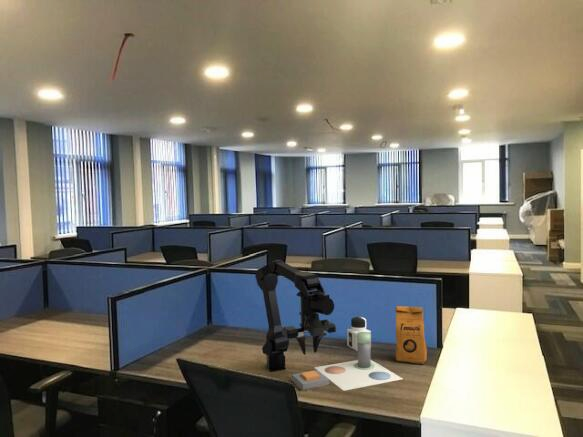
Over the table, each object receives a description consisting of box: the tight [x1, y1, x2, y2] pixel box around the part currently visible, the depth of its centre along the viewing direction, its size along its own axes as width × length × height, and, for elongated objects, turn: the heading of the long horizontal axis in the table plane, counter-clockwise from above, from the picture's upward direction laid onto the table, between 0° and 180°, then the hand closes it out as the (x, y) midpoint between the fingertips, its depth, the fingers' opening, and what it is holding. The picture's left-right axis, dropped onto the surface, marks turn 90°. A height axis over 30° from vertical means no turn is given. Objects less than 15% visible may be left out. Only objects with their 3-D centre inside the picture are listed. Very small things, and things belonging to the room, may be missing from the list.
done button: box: [300, 370, 320, 381], centre depth 170 cm, size 5×5×2 cm
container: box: [346, 316, 372, 351], centre depth 209 cm, size 8×8×13 cm
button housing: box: [291, 369, 330, 392], centre depth 170 cm, size 10×10×2 cm
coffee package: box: [395, 305, 428, 365], centre depth 190 cm, size 10×12×22 cm
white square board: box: [314, 359, 404, 392], centre depth 177 cm, size 24×24×1 cm
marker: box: [356, 332, 372, 368], centre depth 183 cm, size 5×5×12 cm
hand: (309, 353), depth 169 cm, fingers open, 4 cm apart
